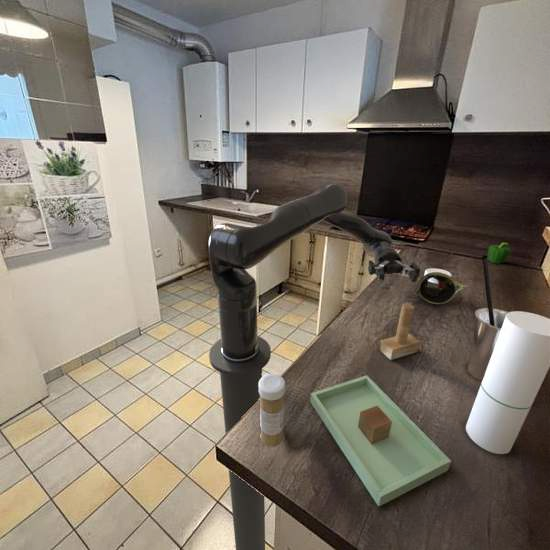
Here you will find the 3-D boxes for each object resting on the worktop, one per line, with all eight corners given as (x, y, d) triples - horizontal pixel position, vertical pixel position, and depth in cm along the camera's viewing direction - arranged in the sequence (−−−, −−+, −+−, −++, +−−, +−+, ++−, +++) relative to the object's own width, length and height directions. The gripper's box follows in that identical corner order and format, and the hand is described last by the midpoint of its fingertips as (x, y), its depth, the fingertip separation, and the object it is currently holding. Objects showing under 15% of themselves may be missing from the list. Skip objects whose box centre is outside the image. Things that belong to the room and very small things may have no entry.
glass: (447, 373, 70) (481, 256, 59) (462, 353, 77) (496, 245, 66) (500, 399, 63) (552, 271, 51) (512, 374, 70) (560, 257, 58)
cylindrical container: (514, 436, 55) (567, 323, 45) (507, 462, 50) (564, 342, 40) (471, 413, 60) (510, 306, 50) (461, 435, 55) (501, 322, 45)
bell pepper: (484, 262, 141) (490, 242, 137) (486, 258, 147) (492, 239, 143) (505, 266, 136) (512, 246, 132) (506, 262, 142) (513, 242, 138)
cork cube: (357, 426, 56) (360, 411, 54) (374, 420, 57) (377, 405, 56) (371, 444, 53) (374, 428, 51) (388, 437, 54) (392, 421, 52)
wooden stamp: (379, 350, 78) (387, 305, 73) (405, 342, 82) (415, 298, 76) (390, 360, 75) (400, 313, 69) (418, 352, 78) (429, 306, 72)
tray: (310, 401, 62) (310, 393, 61) (365, 383, 67) (367, 375, 66) (378, 507, 44) (380, 497, 43) (448, 470, 49) (451, 460, 48)
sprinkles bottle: (268, 423, 57) (268, 368, 52) (288, 434, 55) (290, 378, 50) (254, 440, 54) (253, 384, 49) (275, 453, 52) (276, 396, 46)
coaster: (420, 280, 121) (422, 272, 120) (427, 273, 128) (429, 266, 127) (446, 287, 115) (449, 279, 114) (452, 279, 122) (454, 271, 121)
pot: (455, 266, 112) (466, 267, 95) (461, 295, 111) (473, 301, 95) (406, 274, 118) (409, 277, 101) (412, 301, 118) (416, 309, 101)
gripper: (406, 270, 97) (422, 291, 82) (363, 268, 99) (370, 288, 84) (410, 248, 94) (428, 267, 79) (365, 247, 96) (374, 264, 81)
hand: (398, 278), depth 82 cm, fingers open, 8 cm apart
